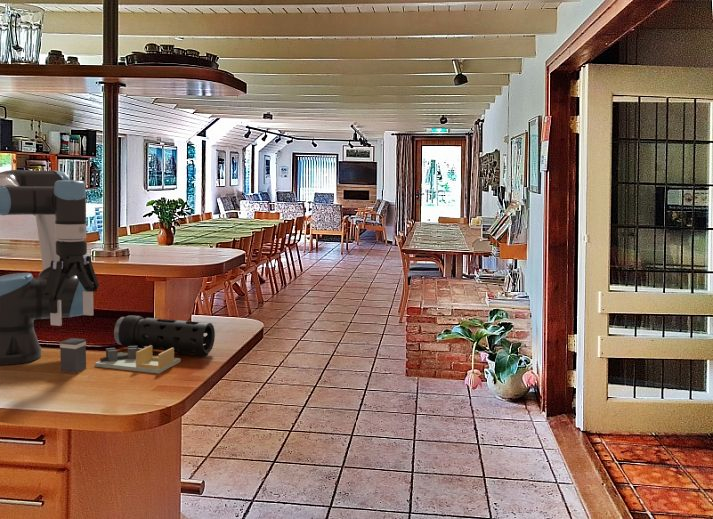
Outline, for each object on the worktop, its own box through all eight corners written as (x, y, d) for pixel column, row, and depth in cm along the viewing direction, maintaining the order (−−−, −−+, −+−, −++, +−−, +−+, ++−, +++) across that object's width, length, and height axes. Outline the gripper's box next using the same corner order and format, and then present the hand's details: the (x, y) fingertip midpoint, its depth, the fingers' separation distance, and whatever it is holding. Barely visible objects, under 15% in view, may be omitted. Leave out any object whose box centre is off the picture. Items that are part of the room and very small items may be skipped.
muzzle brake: (202, 361, 200) (202, 325, 199) (112, 352, 205) (112, 318, 204) (215, 352, 209) (215, 318, 208) (129, 345, 215) (129, 311, 213)
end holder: (135, 366, 189) (135, 352, 188) (150, 359, 196) (150, 345, 195) (160, 369, 187) (160, 354, 186) (174, 361, 194) (174, 347, 194)
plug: (60, 371, 186) (59, 341, 185) (71, 366, 190) (70, 337, 189) (75, 373, 184) (75, 343, 183) (86, 368, 189) (85, 339, 188)
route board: (94, 366, 191) (94, 352, 190) (119, 355, 202) (119, 341, 202) (158, 373, 186) (158, 358, 186) (180, 361, 198) (180, 348, 198)
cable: (100, 361, 192) (99, 358, 192) (100, 358, 195) (100, 355, 195) (148, 359, 195) (148, 356, 195) (148, 356, 199) (148, 353, 198)
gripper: (52, 245, 170) (54, 331, 172) (111, 236, 194) (112, 312, 196) (25, 243, 171) (28, 328, 174) (87, 235, 196) (88, 310, 198)
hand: (72, 320), depth 185 cm, fingers open, 13 cm apart
